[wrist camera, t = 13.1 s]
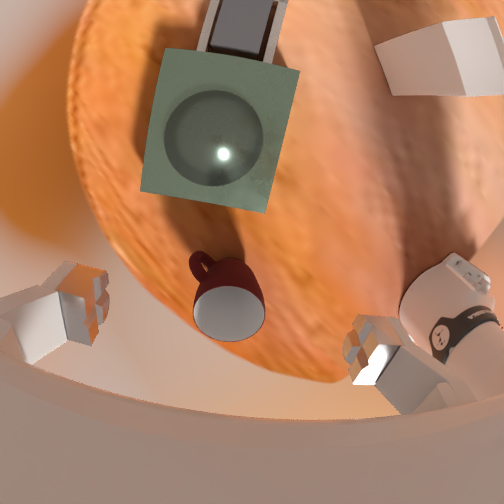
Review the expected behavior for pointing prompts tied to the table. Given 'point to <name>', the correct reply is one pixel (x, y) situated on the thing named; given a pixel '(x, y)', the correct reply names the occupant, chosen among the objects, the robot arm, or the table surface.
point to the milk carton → (446, 59)
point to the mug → (226, 298)
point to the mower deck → (218, 122)
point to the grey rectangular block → (241, 27)
